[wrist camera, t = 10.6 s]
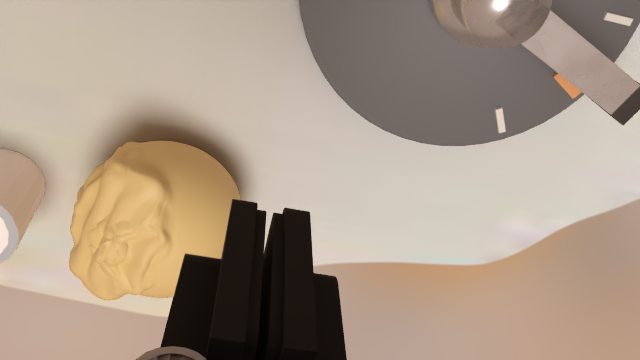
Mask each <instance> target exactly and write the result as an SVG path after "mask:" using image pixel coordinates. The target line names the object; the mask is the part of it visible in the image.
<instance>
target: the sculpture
mask: <svg viewBox="0 0 640 360" xmlns="http://www.w3.org/2000/svg"><path fill="white" fill-rule="evenodd" d="M232 199H236V200H241V197H240V194H239V191H238V188H237V186H236V184H235V182H234V180H233V179H232V177H231V175H230V174H229V173H228V171H227V170H226V169H225V168H224V167H223V166H222V165H221V164H220V163H219V162H218V161H217V160H215V159H214V158H213V157H211V156H210V155H209V154H207V153H205V152H204V151H202V150H200V149H198V148H195V147H193V146H190V145H187V144H184V143H179V142H173V141H150V142H143V143H137V142H126V143H125V144H124V145H123V146H120V147H118V148H117V149H116V151H115V153H114V154H113V155H112V156H111V157H110V158H109V159H108V160H106V162H105V163H104V165H99V166H97V167H96V168H95V169H94V171H93V172H92V174H91V175H90V176H89V177H88V179H87V180H86V181H85V184H84V186H82V187H81V188H80V190H79V192H78V194H77V200H78V201H77V202H76V203H75V205H74V213H73V216H72V223H71V227H70V231H71V235H72V238H73V241H74V247H73V249H72V250H71V252H70V260H69V267H70V270H71V272H72V273H73V274H74V275H75V276H76V277H77V278H79V279H80V280H81V281H82V282H83V284H84V286H85V287H86V288H87V289H88V290H89V291H90V292H91V293H92V294H93V295H95V296H96V297H98V298H100V299H103V300H116V299H119V298H120V297H122V296H123V295H126V294H132V295H142V296H147V297H155V298H168V297H174V293H175V289H176V285H177V282H178V278H179V274H180V270H181V266H182V262H183V258H184V255H185V253H186V254H192V255H199V256H205V257H212V258H218V259H221V257H222V252H223V246H224V241H225V236H226V230H227V225H228V219H229V214H230V209H231V203H232Z"/></svg>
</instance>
